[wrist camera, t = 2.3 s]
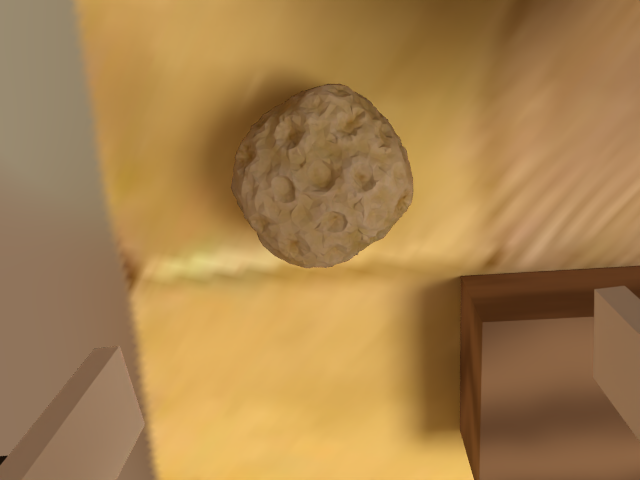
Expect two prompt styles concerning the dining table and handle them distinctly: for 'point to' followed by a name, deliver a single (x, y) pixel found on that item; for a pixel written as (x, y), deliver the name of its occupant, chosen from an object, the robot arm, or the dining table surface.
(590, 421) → the walnut block
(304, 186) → the brown cratered rock
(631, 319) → the robot arm
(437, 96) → the dining table surface
